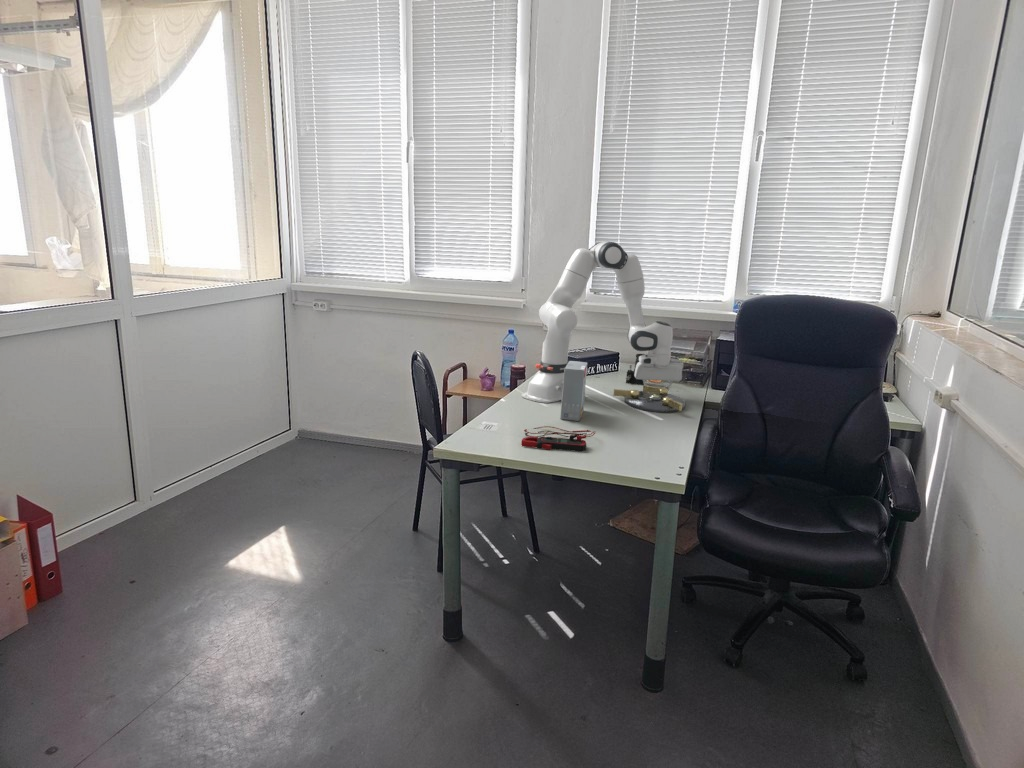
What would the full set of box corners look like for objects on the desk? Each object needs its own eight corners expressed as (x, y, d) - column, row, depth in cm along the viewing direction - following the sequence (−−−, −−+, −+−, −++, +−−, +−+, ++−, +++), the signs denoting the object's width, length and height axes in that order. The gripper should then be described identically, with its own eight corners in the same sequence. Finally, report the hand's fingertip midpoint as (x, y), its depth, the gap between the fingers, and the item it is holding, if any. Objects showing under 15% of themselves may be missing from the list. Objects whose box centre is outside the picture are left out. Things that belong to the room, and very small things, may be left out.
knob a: (668, 394, 274) (669, 387, 274) (666, 396, 271) (667, 389, 271) (644, 390, 279) (645, 384, 278) (642, 392, 276) (642, 385, 275)
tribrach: (669, 416, 251) (671, 407, 250) (613, 403, 265) (614, 394, 264) (693, 403, 270) (695, 395, 269) (640, 392, 284) (641, 383, 283)
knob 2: (660, 403, 260) (661, 396, 260) (667, 402, 262) (668, 395, 261) (676, 410, 251) (677, 403, 250) (684, 410, 252) (684, 403, 252)
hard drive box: (580, 421, 239) (584, 370, 234) (559, 419, 241) (563, 368, 236) (583, 410, 254) (587, 361, 249) (564, 408, 255) (568, 359, 250)
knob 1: (638, 396, 269) (639, 389, 269) (639, 398, 266) (639, 391, 265) (613, 394, 271) (613, 387, 270) (613, 396, 267) (614, 389, 266)
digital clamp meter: (596, 443, 206) (519, 436, 209) (594, 456, 207) (519, 449, 210) (595, 420, 229) (526, 414, 231) (594, 432, 230) (525, 426, 232)
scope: (630, 351, 301) (651, 354, 299) (627, 380, 305) (648, 382, 302) (627, 355, 294) (649, 357, 291) (624, 383, 298) (646, 386, 295)
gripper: (682, 358, 278) (678, 389, 281) (635, 356, 278) (632, 386, 282) (685, 361, 271) (682, 392, 275) (637, 359, 272) (634, 390, 275)
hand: (656, 389), depth 278 cm, fingers open, 7 cm apart
